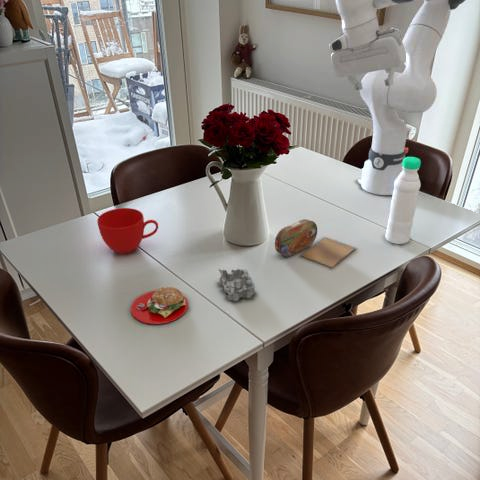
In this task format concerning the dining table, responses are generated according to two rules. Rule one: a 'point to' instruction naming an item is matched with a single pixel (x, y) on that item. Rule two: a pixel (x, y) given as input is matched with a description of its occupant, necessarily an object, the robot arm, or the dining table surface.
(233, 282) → the grey lumpy block
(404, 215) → the water bottle
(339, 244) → the cork mat
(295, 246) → the tin
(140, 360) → the dining table surface
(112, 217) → the ceramic cup
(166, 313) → the hamburger
